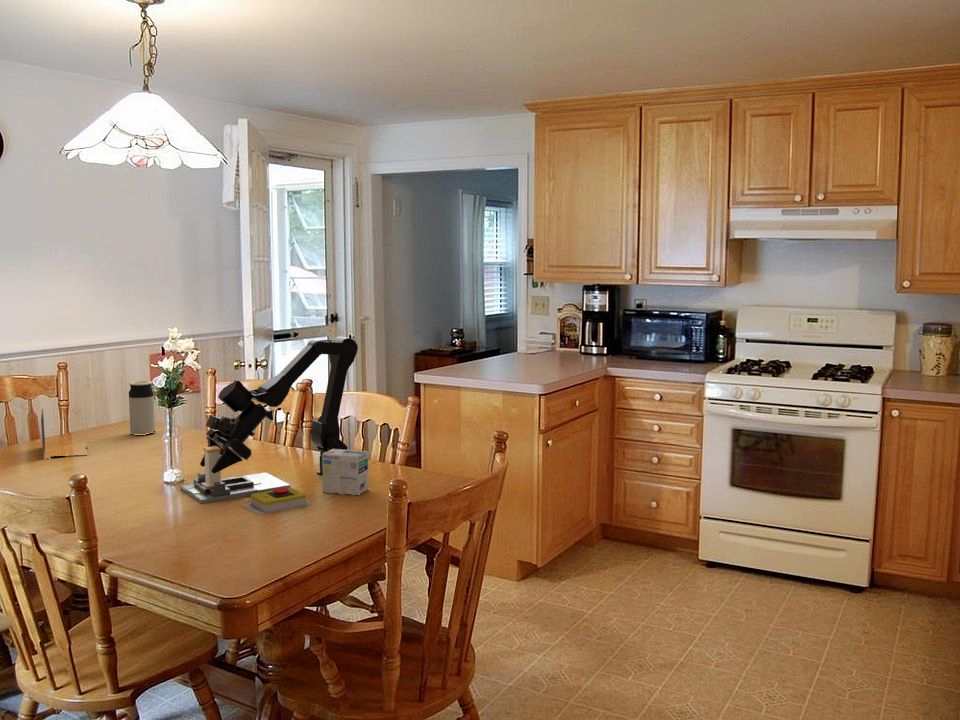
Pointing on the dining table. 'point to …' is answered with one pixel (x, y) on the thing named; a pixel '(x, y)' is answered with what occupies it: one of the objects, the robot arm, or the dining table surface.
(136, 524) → the dining table surface
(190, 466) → the dining table surface
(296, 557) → the dining table surface
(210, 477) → the handle
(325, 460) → the light bulb box
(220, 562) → the dining table surface
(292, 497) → the emergency button
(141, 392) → the travel mug
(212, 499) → the breaker panel
